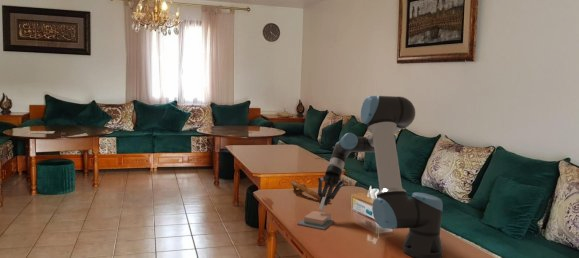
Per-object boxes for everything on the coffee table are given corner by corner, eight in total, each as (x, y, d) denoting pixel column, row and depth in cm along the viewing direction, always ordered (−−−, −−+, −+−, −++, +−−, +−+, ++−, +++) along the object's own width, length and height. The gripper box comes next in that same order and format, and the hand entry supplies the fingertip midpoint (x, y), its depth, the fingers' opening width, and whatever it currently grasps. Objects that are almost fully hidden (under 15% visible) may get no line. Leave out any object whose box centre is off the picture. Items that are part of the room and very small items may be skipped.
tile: (331, 214, 219) (322, 220, 209) (330, 219, 219) (322, 225, 209) (313, 210, 222) (304, 216, 212) (312, 215, 223) (303, 222, 213)
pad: (334, 221, 217) (334, 220, 217) (324, 229, 206) (324, 228, 206) (308, 216, 223) (308, 215, 223) (297, 224, 211) (297, 223, 211)
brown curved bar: (333, 203, 249) (326, 188, 246) (320, 212, 246) (314, 196, 243) (303, 186, 278) (297, 172, 275) (292, 193, 276) (285, 179, 272)
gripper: (348, 175, 232) (335, 216, 218) (324, 171, 237) (309, 212, 224) (346, 166, 226) (332, 208, 213) (321, 163, 231) (306, 203, 218)
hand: (320, 210), depth 218 cm, fingers closed
